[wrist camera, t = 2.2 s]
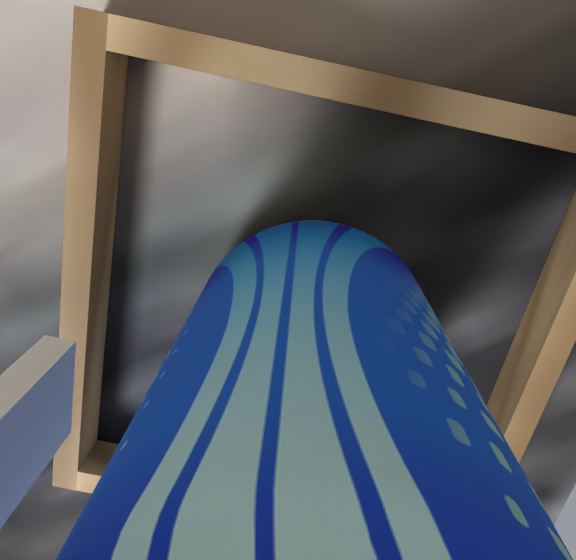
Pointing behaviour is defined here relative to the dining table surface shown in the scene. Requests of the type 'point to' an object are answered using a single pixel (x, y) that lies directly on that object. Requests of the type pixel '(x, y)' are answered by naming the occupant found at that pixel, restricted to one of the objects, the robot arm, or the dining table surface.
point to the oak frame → (303, 79)
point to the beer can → (313, 425)
